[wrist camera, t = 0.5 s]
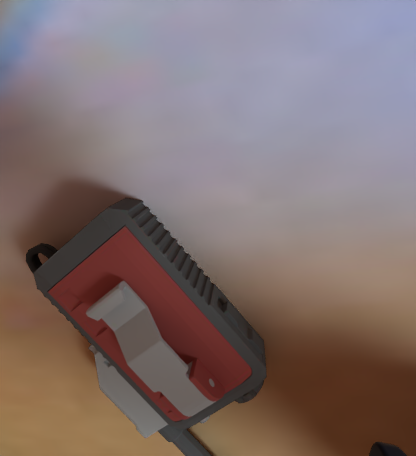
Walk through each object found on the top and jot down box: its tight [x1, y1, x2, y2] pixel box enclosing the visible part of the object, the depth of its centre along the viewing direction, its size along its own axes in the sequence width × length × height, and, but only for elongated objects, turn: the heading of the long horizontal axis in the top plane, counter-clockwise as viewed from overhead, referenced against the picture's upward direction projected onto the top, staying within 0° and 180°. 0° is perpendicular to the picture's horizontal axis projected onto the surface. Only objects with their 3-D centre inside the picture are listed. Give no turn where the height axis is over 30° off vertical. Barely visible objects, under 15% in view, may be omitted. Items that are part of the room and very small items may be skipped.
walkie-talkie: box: [26, 198, 266, 456], centre depth 18 cm, size 9×4×20 cm
